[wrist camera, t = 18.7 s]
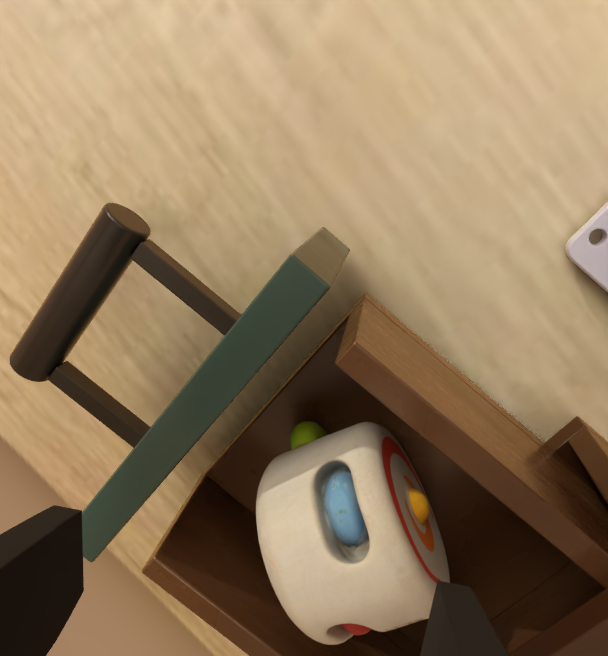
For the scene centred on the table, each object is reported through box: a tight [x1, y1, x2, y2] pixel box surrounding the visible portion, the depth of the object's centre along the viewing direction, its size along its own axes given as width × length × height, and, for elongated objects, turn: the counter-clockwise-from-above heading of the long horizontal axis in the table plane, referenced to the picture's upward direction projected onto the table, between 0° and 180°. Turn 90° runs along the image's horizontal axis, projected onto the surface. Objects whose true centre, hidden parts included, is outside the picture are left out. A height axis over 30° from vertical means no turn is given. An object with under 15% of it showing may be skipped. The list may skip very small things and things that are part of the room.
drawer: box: [10, 203, 608, 656], centre depth 17 cm, size 20×11×6 cm, turn 51°
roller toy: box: [256, 421, 450, 645], centre depth 16 cm, size 4×6×6 cm
